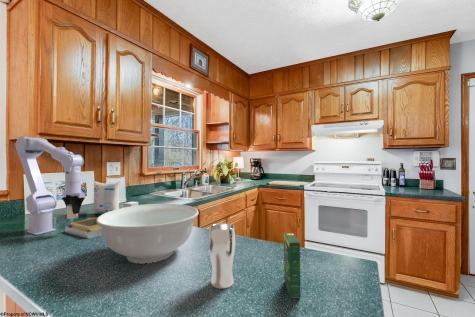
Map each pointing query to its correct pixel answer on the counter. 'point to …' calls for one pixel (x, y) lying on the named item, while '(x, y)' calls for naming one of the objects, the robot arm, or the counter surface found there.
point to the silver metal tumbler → (222, 254)
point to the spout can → (71, 213)
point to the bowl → (147, 230)
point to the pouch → (106, 197)
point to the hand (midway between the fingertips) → (73, 212)
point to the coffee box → (292, 265)
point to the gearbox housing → (85, 228)
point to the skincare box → (130, 204)
